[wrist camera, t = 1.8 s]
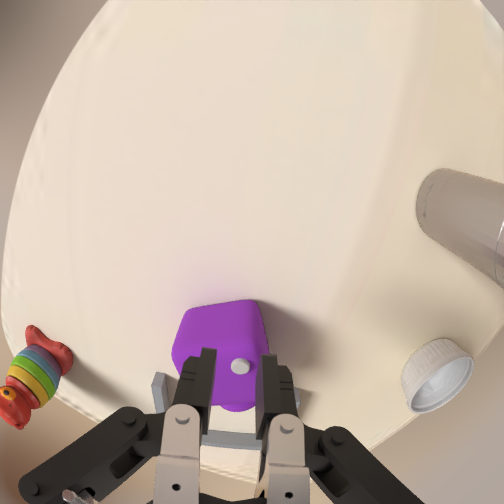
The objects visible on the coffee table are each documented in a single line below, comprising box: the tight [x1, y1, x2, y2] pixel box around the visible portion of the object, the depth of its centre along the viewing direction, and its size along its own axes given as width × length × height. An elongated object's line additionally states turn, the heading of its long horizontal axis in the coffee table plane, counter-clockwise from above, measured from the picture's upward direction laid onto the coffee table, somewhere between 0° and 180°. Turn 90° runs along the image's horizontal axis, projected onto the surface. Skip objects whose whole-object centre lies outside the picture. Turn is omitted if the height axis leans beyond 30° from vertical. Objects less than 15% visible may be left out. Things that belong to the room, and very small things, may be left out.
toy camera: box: [172, 300, 269, 412], centre depth 31 cm, size 11×14×10 cm
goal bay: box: [151, 372, 300, 450], centre depth 40 cm, size 22×16×3 cm
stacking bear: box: [0, 325, 73, 430], centre depth 30 cm, size 11×10×18 cm
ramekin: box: [401, 339, 474, 414], centre depth 35 cm, size 13×13×7 cm
